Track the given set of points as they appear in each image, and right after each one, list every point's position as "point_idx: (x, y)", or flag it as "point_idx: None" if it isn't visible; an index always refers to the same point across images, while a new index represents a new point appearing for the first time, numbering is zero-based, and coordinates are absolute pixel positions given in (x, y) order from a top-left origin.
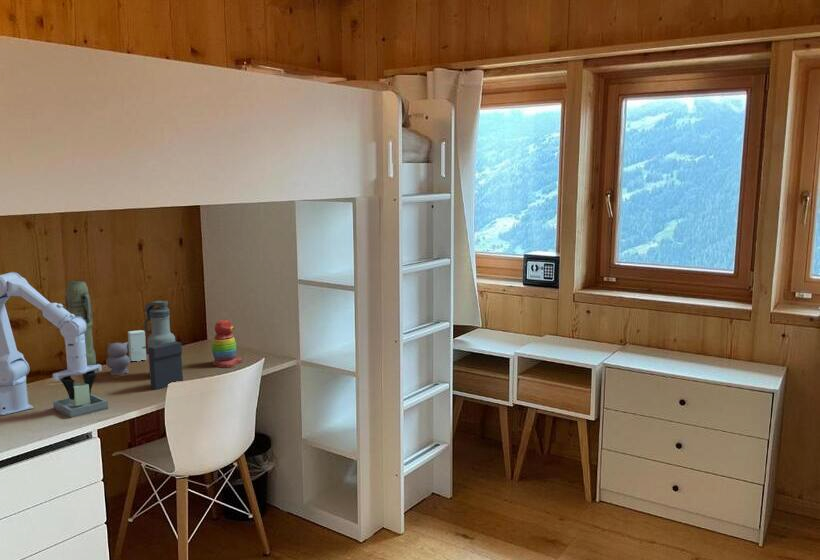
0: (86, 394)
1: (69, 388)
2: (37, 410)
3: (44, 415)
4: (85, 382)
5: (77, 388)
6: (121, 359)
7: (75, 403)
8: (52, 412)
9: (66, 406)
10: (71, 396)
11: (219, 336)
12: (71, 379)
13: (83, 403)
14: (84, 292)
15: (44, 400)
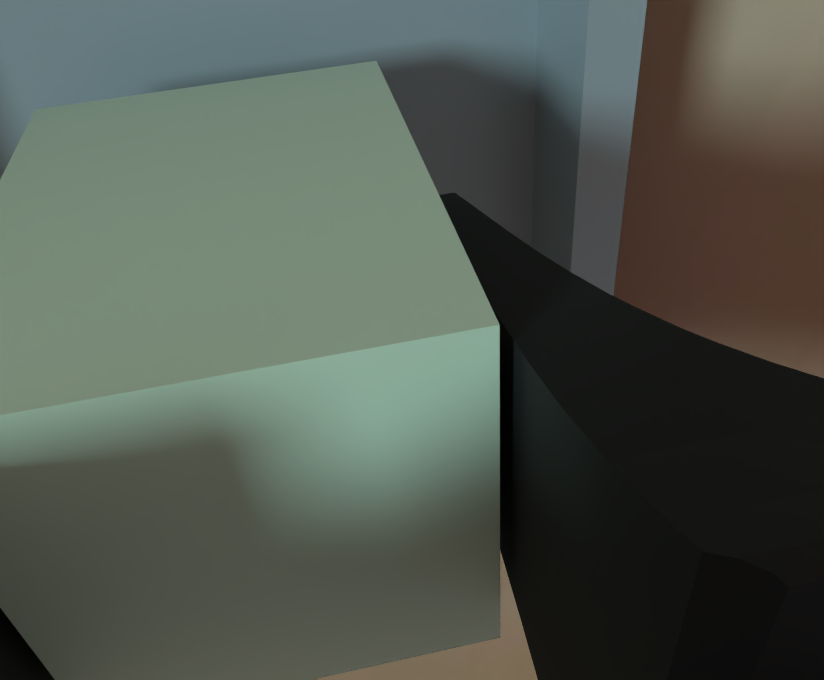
0: (80, 201)
1: (666, 324)
2: None
3: (776, 185)
4: (13, 659)
5: (371, 304)
6: None
7: (387, 96)
8: (639, 252)
9: (597, 36)
10: (492, 224)
11: None
12: (814, 645)
13: (200, 93)
14: None
15: (498, 655)
